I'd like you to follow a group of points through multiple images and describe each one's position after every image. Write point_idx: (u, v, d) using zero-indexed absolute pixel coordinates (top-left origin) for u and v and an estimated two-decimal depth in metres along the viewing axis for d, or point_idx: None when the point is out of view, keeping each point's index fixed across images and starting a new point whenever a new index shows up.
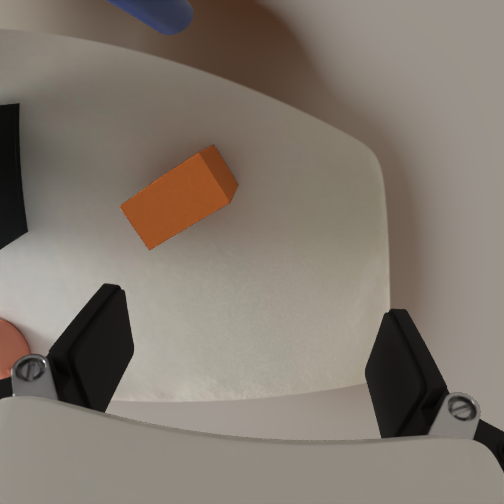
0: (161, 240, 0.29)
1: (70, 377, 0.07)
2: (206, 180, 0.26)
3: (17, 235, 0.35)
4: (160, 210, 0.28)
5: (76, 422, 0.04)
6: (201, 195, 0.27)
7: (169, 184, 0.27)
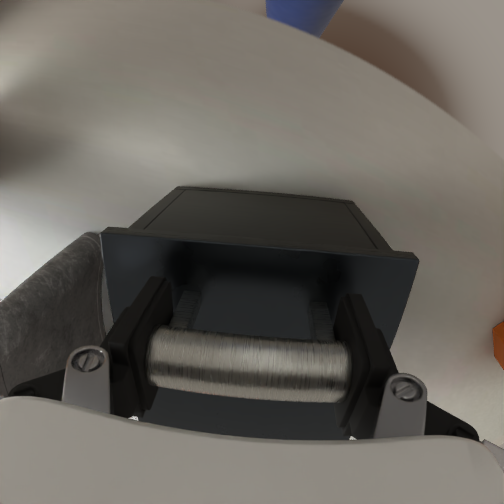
0: None
1: (128, 367, 0.08)
2: None
3: None
4: None
5: (76, 422, 0.04)
6: None
7: None
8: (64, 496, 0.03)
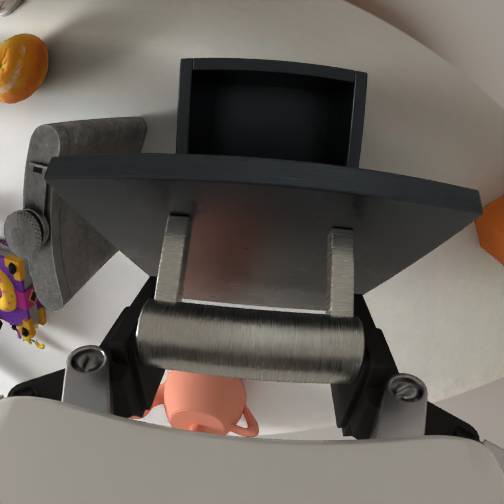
0: None
1: (128, 367, 0.08)
2: None
3: None
4: None
5: (76, 422, 0.04)
6: None
7: None
8: (64, 496, 0.03)
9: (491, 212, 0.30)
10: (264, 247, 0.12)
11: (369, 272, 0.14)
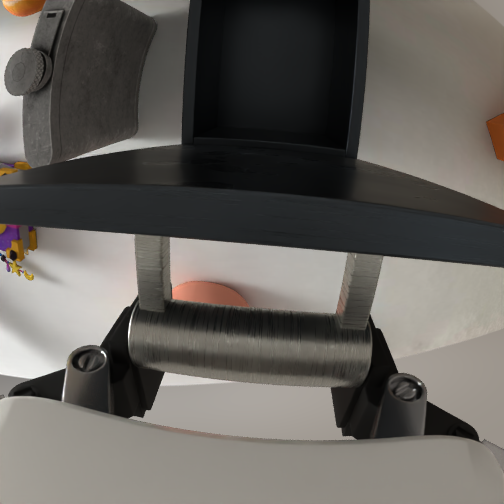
0: None
1: (128, 367, 0.08)
2: None
3: None
4: None
5: (76, 422, 0.04)
6: None
7: None
8: (64, 496, 0.03)
9: None
10: None
11: None
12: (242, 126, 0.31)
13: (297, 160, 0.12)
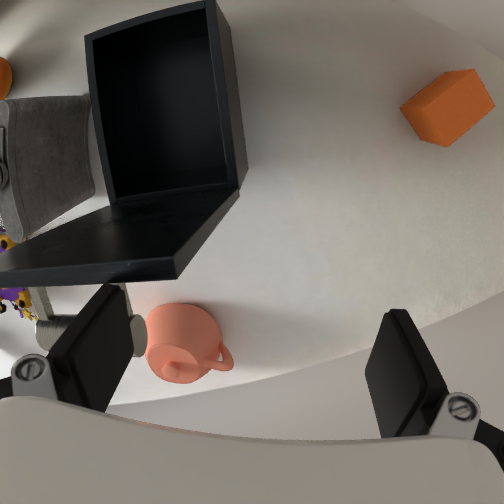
0: (456, 137, 0.28)
1: (70, 377, 0.07)
2: (481, 89, 0.25)
3: (246, 169, 0.36)
4: (455, 111, 0.27)
5: (76, 422, 0.04)
6: (479, 100, 0.26)
7: (459, 90, 0.26)
8: (64, 496, 0.03)
9: (415, 99, 0.31)
10: None
11: None
12: (170, 172, 0.38)
13: (130, 220, 0.18)
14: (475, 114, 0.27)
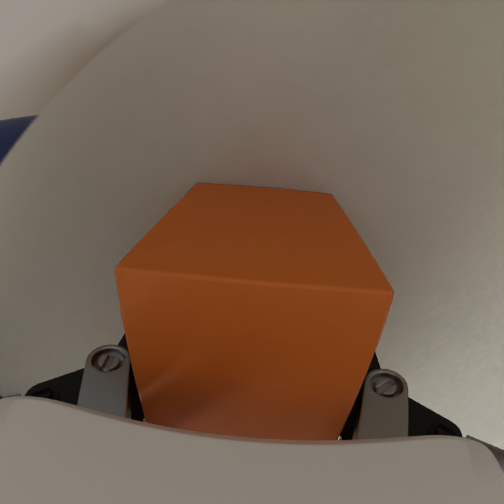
0: None
1: None
2: (242, 316, 0.06)
3: None
4: None
5: (76, 422, 0.04)
6: (285, 364, 0.06)
7: (175, 408, 0.07)
8: (64, 496, 0.03)
9: None
10: None
11: None
12: None
13: None
14: (315, 414, 0.07)
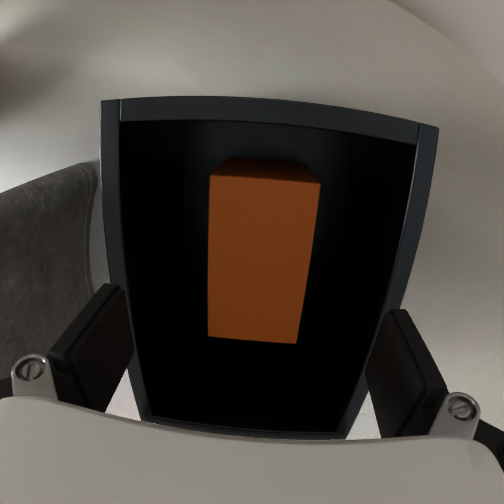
0: (296, 320, 0.17)
1: (70, 377, 0.07)
2: (260, 194, 0.15)
3: None
4: (254, 290, 0.17)
5: (76, 422, 0.04)
6: (278, 218, 0.15)
7: (226, 251, 0.16)
8: (64, 496, 0.03)
9: None
10: None
11: None
12: None
13: None
14: (294, 251, 0.16)
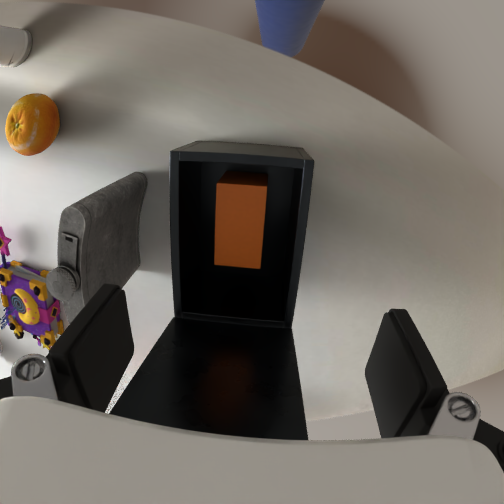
0: (259, 254, 0.34)
1: (70, 377, 0.07)
2: (239, 191, 0.32)
3: None
4: (237, 238, 0.34)
5: (76, 422, 0.04)
6: (248, 202, 0.32)
7: (224, 218, 0.33)
8: (64, 496, 0.03)
9: None
10: None
11: None
12: (219, 270, 0.43)
13: (232, 379, 0.24)
14: (256, 218, 0.33)
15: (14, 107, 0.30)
